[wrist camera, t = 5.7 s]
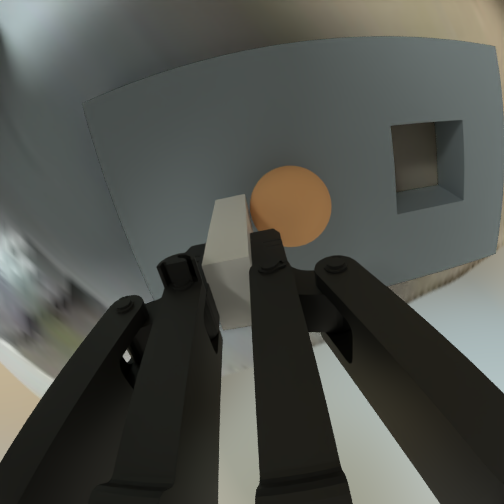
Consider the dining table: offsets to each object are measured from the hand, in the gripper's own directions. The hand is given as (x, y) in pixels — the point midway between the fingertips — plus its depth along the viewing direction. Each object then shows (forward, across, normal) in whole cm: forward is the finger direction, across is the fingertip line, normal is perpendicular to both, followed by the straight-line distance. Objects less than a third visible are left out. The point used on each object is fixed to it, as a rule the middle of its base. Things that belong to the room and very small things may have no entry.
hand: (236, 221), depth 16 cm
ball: (0, +3, 0) cm, 3 cm away
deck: (+5, +6, +1) cm, 8 cm away
